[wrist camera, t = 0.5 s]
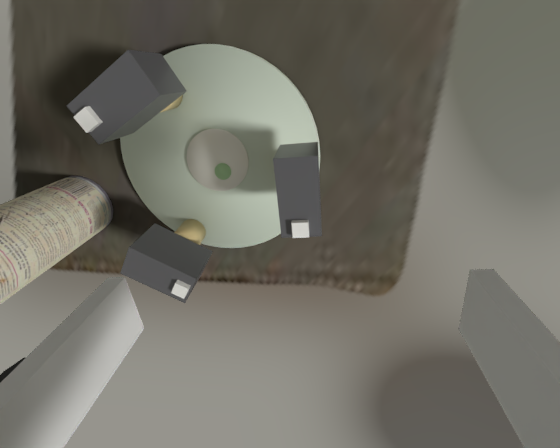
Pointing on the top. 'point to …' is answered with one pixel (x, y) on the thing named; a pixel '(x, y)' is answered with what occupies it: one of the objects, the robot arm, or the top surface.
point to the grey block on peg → (298, 189)
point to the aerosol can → (48, 228)
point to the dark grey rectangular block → (127, 96)
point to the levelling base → (219, 145)
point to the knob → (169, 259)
